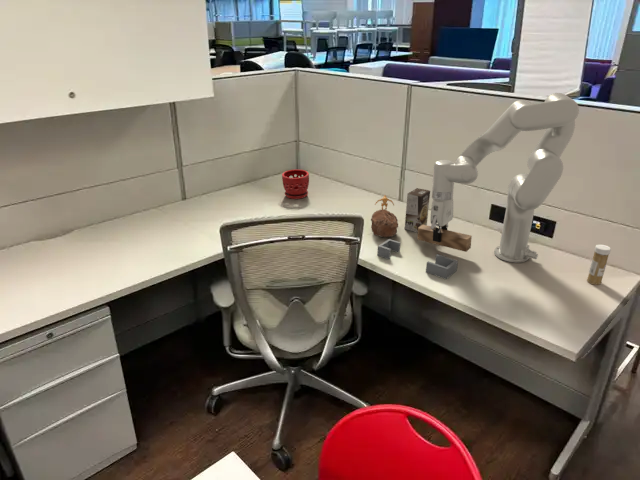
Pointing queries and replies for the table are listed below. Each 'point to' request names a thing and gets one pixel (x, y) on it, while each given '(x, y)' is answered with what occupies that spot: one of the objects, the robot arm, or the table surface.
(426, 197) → the coffee box
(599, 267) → the sprinkles bottle
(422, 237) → the slat
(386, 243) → the end cap
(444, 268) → the end cap
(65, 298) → the table surface
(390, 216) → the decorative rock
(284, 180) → the plant pot
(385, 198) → the figurine
